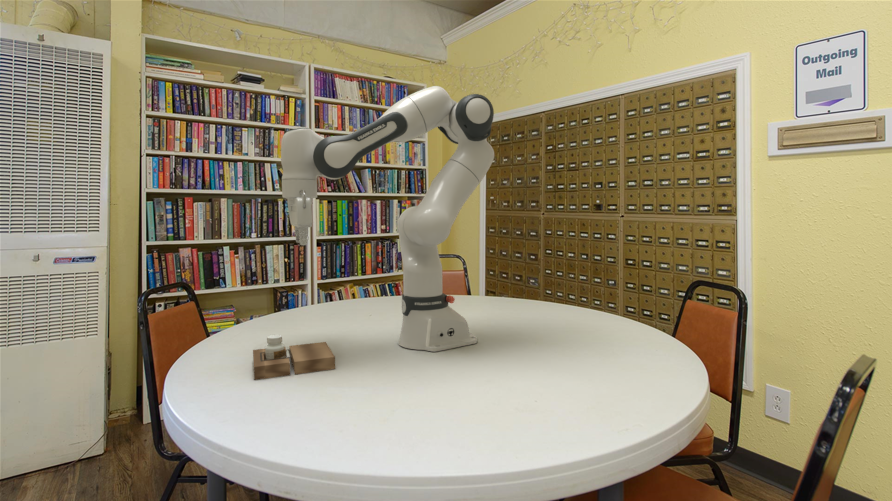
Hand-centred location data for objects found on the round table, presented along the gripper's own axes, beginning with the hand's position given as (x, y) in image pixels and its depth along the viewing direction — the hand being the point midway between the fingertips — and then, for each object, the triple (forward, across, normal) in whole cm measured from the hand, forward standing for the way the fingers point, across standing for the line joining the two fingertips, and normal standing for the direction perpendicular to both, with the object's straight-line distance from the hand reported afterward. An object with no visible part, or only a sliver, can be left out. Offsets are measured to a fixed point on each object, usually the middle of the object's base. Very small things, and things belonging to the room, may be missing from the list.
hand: (301, 243), depth 125 cm
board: (+29, -11, +4) cm, 31 cm away
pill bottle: (+29, -11, +8) cm, 32 cm away
